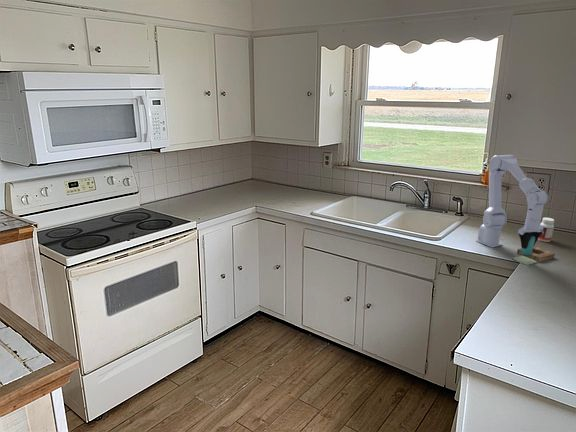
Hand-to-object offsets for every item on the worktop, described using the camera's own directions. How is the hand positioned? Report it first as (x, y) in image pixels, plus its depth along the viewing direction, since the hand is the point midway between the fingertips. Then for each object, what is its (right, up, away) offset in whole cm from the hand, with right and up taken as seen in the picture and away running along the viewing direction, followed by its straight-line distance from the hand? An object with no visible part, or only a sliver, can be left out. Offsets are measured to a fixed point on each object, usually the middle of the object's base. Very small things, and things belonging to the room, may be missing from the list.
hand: (527, 247), depth 196 cm
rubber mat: (0, -6, +2) cm, 7 cm away
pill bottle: (+24, +1, +28) cm, 37 cm away
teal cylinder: (0, -3, +1) cm, 3 cm away
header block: (+8, -4, +8) cm, 13 cm away
